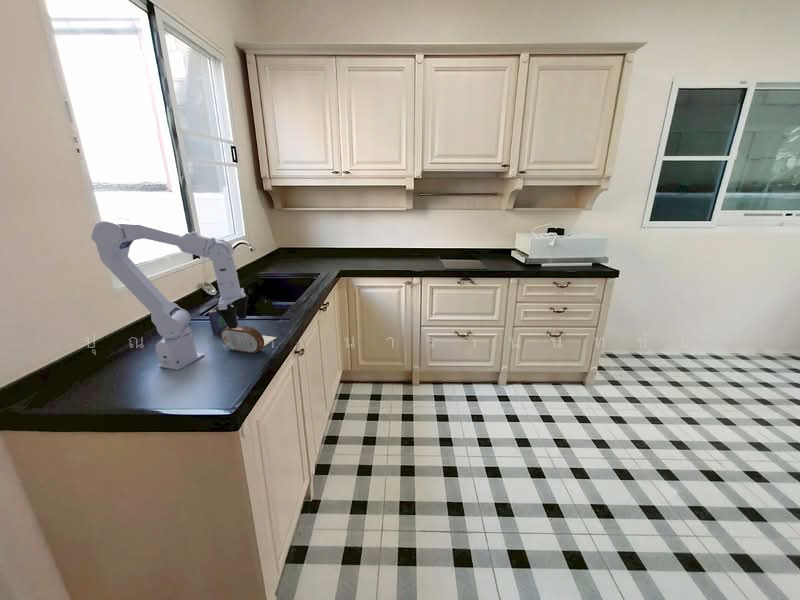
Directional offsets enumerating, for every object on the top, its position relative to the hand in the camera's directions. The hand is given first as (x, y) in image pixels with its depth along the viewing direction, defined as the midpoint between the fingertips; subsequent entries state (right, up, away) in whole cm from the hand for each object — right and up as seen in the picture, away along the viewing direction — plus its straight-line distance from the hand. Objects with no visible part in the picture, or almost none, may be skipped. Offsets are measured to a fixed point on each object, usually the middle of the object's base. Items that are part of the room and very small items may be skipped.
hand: (238, 323), depth 106 cm
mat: (+2, -7, +10) cm, 12 cm away
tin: (0, -9, +4) cm, 10 cm away
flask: (-13, -5, +19) cm, 24 cm away
